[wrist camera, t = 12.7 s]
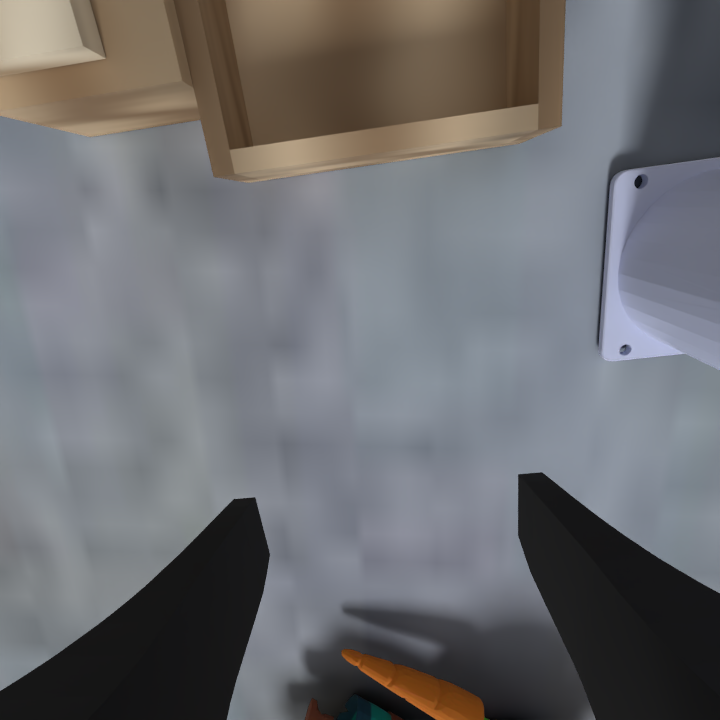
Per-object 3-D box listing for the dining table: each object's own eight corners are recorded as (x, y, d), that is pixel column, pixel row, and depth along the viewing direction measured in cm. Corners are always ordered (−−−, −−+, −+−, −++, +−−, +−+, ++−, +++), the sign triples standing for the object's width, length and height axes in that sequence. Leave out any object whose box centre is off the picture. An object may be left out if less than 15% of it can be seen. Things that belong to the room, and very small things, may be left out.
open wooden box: (519, -166, 13) (592, -352, 9) (518, 143, 17) (573, 121, 12) (26, -70, 15) (-128, -190, 10) (110, 202, 18) (21, 201, 13)
